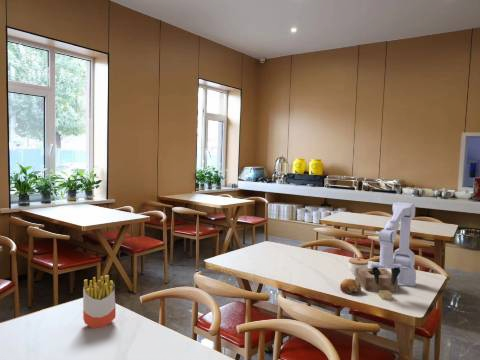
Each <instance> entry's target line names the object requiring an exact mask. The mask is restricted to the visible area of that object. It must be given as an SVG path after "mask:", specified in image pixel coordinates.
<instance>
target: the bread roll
mask: <svg viewBox="0 0 480 360" xmlns="http://www.w3.org/2000/svg"><path fill="white" fill-rule="evenodd" d="M339 289H340V291H341V292H342V293H344V294H345V295H346V294H347V295H352V296H353V295H354V296H356V295H358V294H360V293H361V291H362V286H361V285H360V284H359V282H358V281H356V280H355V278H354V279H353V278H345V279H344V280H342V281H341V282H340V288H339Z"/></svg>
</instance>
